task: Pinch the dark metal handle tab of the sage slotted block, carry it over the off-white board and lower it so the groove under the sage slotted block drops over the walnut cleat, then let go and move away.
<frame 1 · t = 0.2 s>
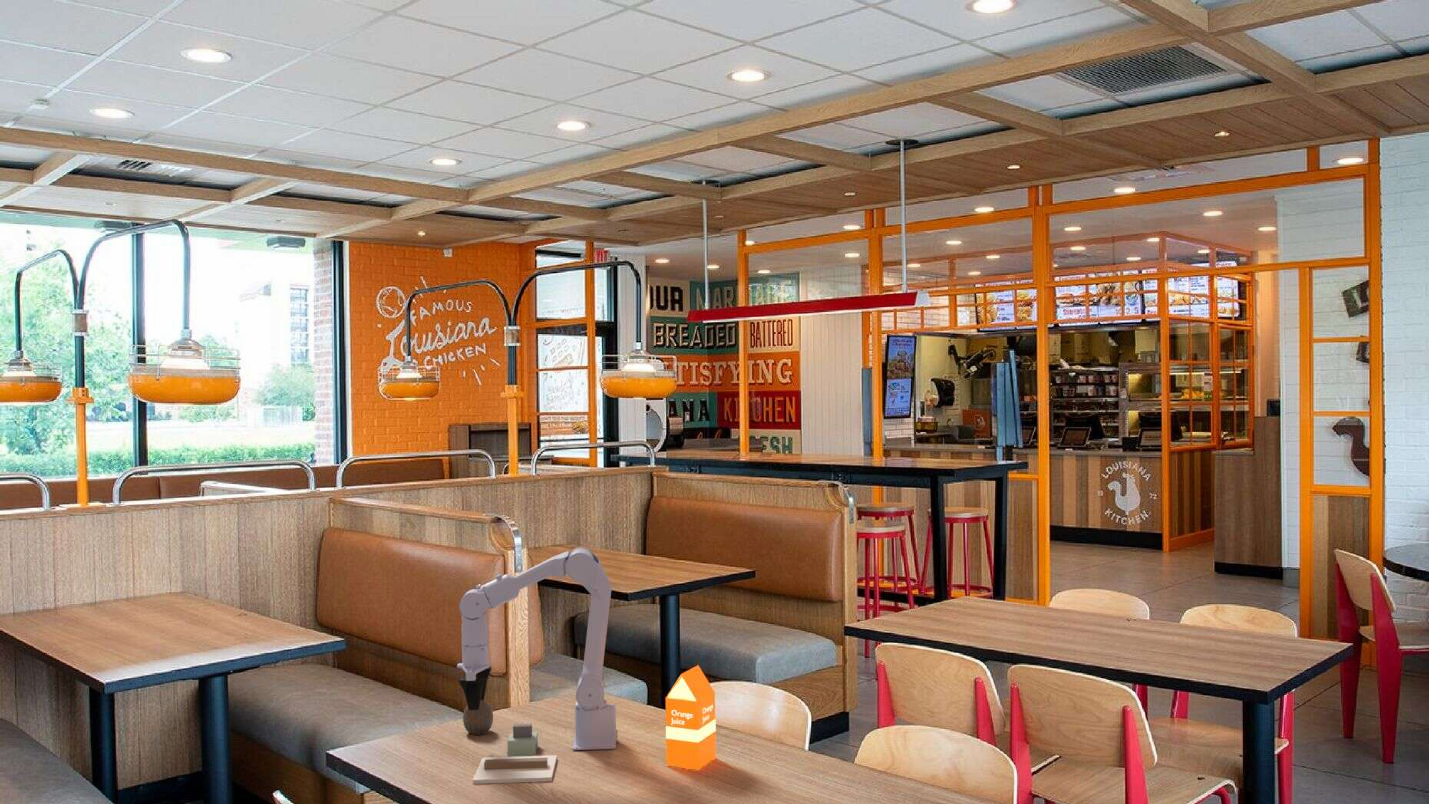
hand: (476, 704, 257), 10 cm above the table, tool pointing down, fingers open, 7 cm apart
vase: (478, 733, 270), on the table
orange juice: (691, 763, 246), on the table
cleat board: (516, 770, 242), on the table
sage slotted block: (522, 751, 255), on the table
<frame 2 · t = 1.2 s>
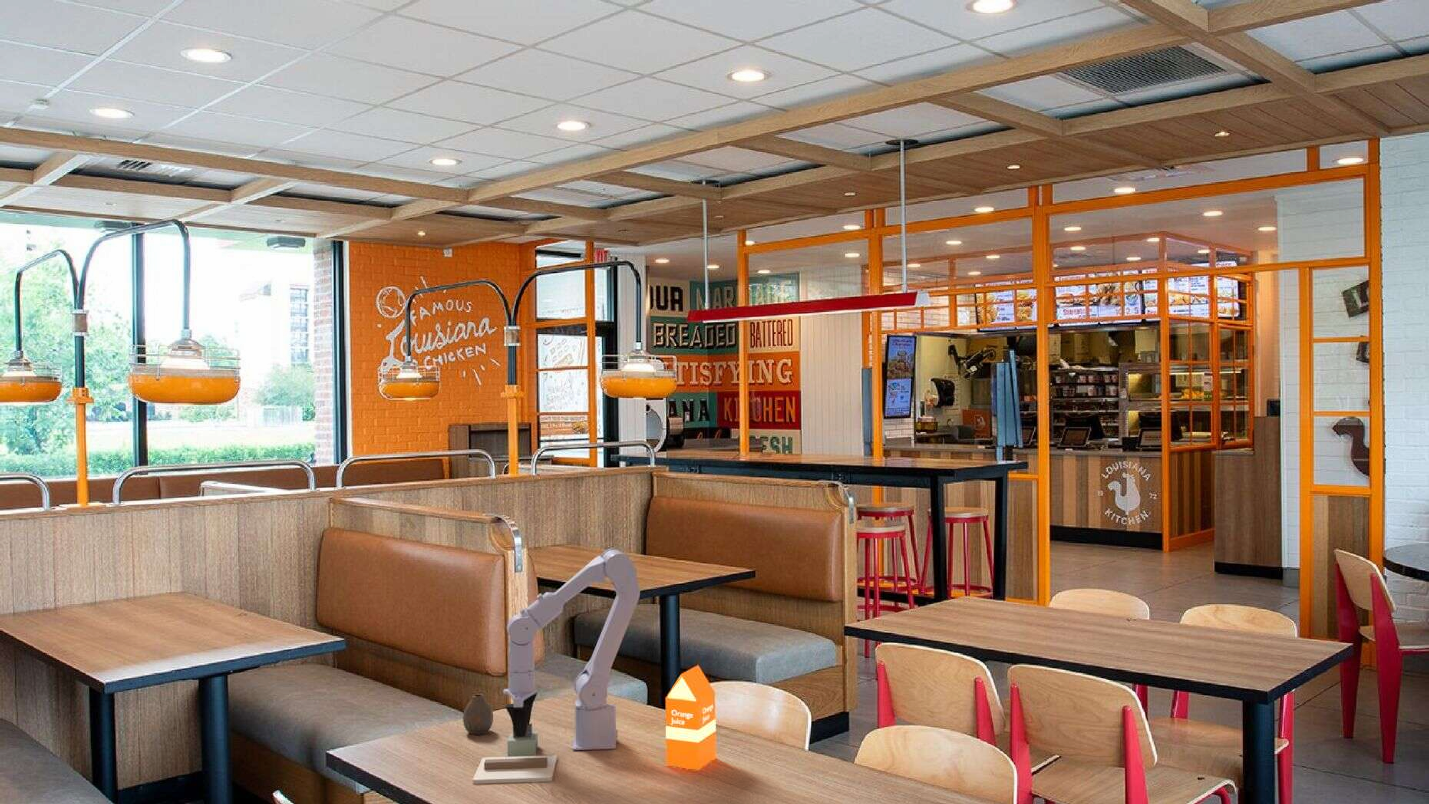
hand: (522, 730, 255), 5 cm above the table, tool pointing down, fingers open, 7 cm apart
nothing on the table moved.
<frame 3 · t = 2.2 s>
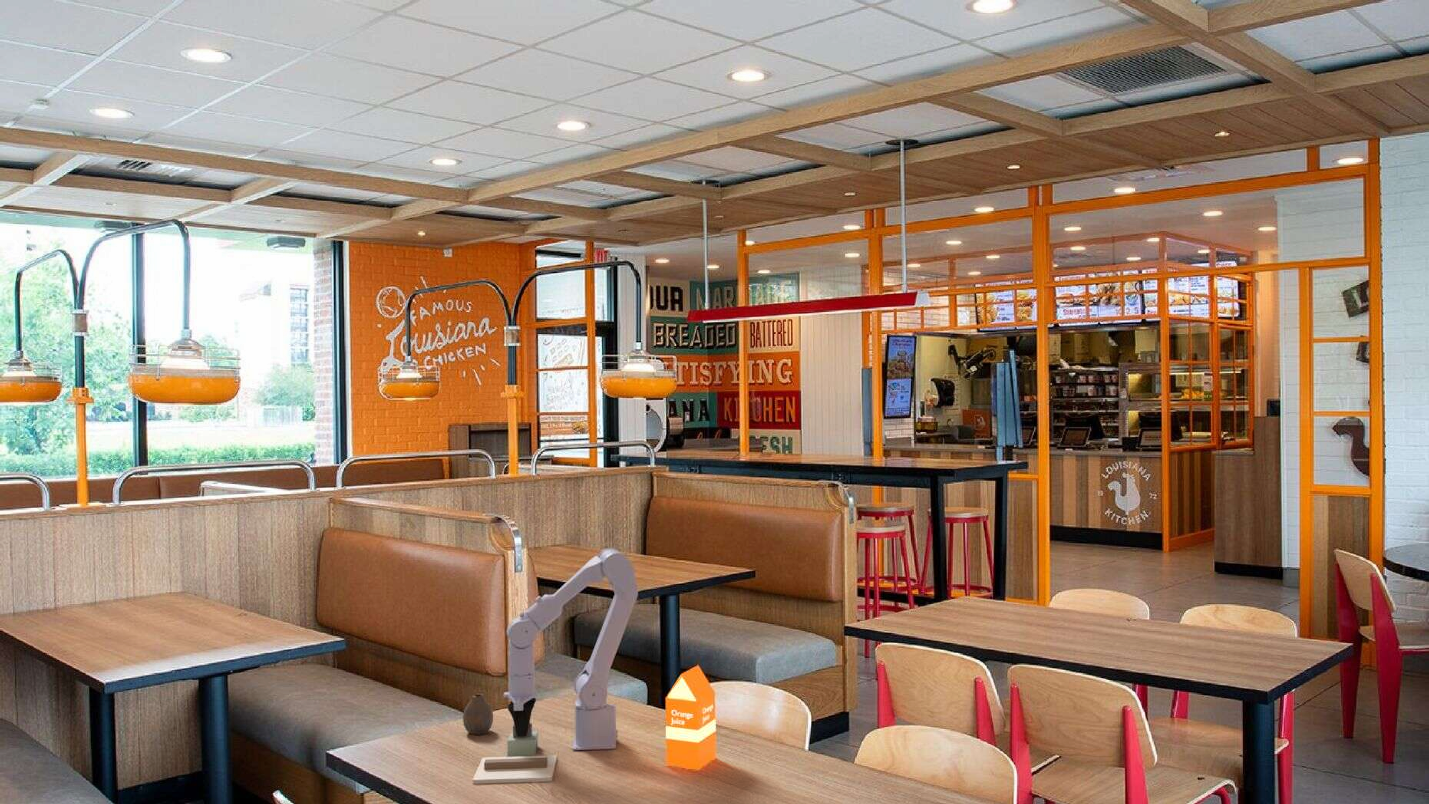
hand: (522, 734, 255), 4 cm above the table, tool pointing down, fingers closed on sage slotted block, 2 cm apart
sage slotted block: (522, 751, 255), on the table, touching gripper
everything else where it was.
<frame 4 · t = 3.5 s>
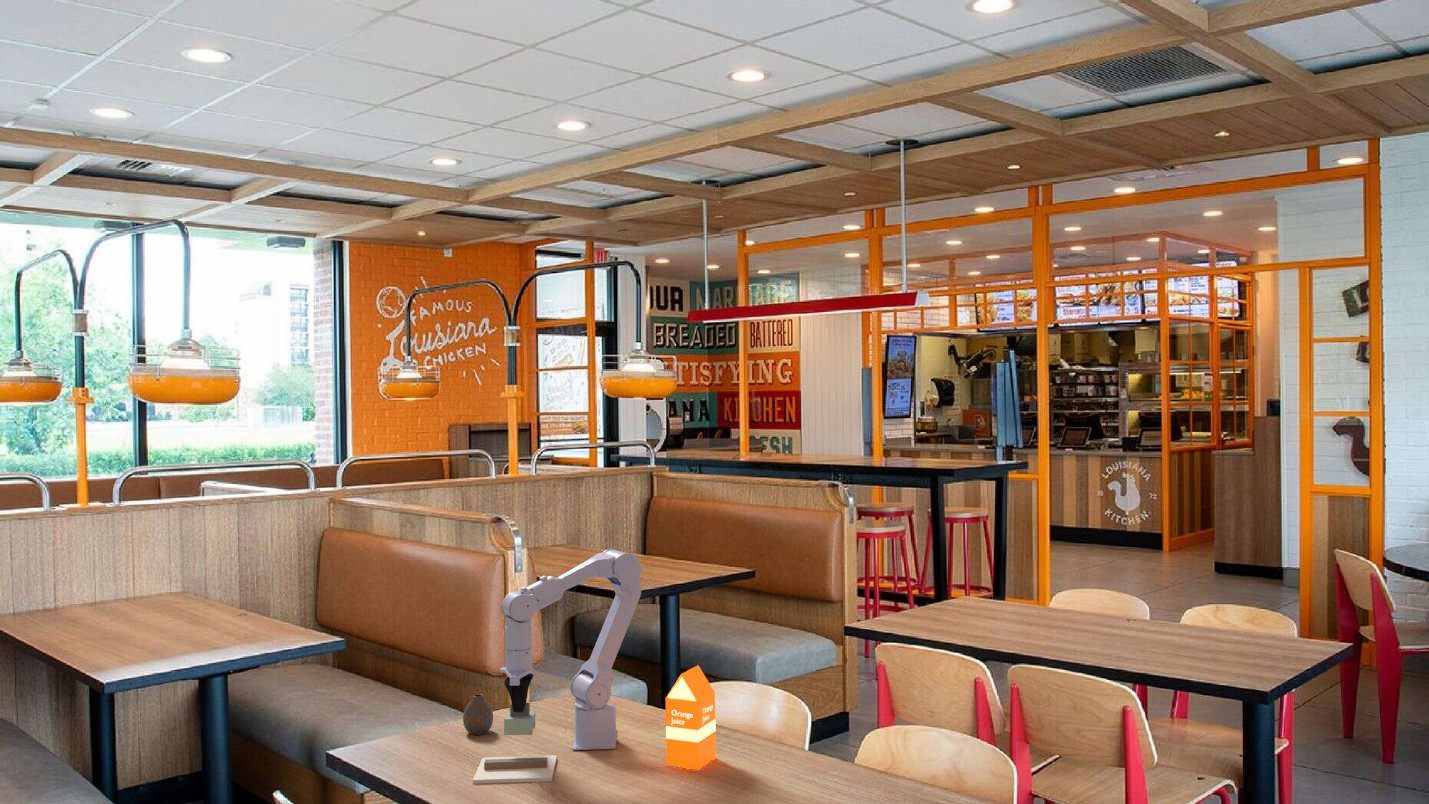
hand: (519, 710, 251), 10 cm above the table, tool pointing down, fingers closed on sage slotted block
sage slotted block: (519, 730, 251), point 6 cm above the table, touching gripper
everything else where it was.
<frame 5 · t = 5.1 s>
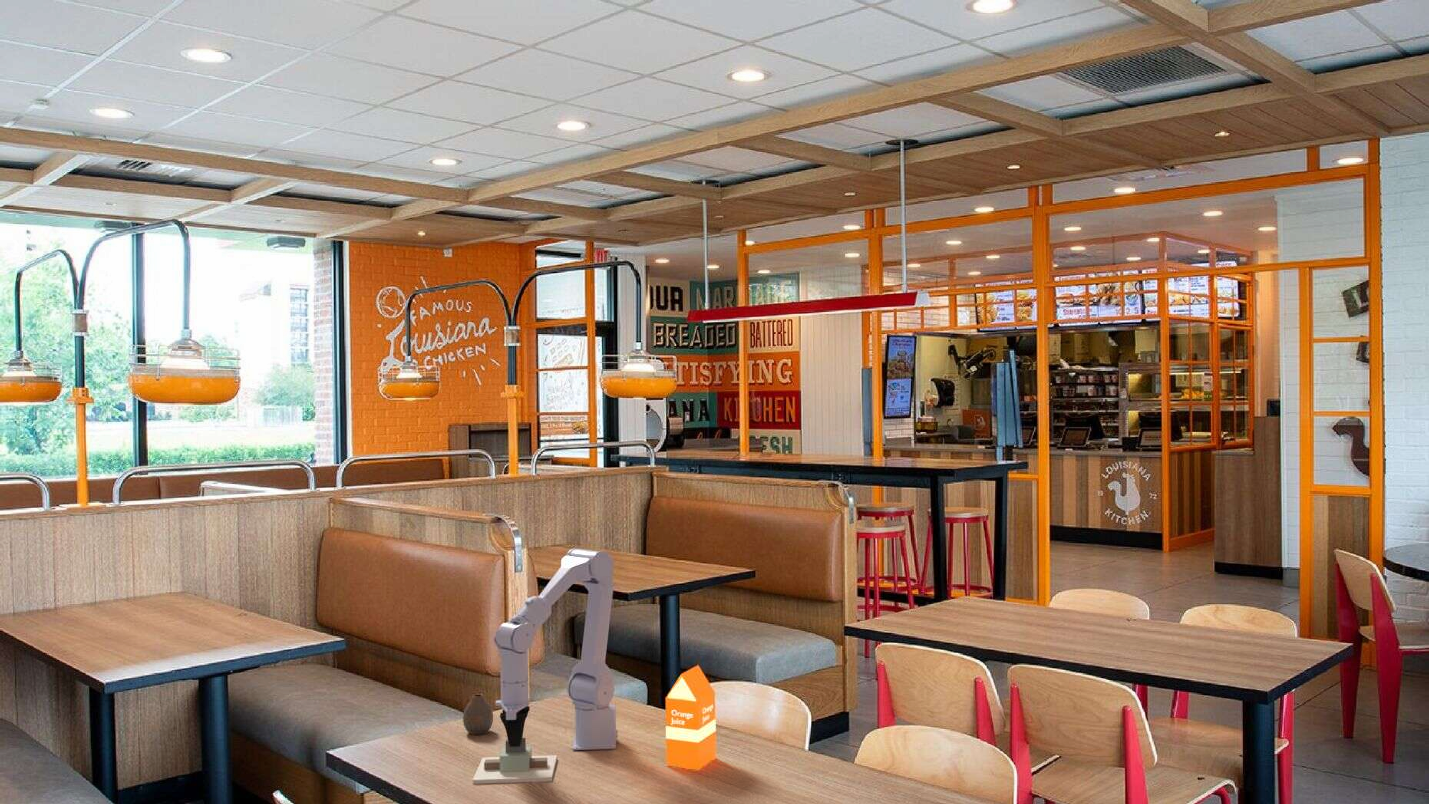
hand: (515, 744, 242), 6 cm above the table, tool pointing down, fingers closed on sage slotted block, 2 cm apart
sage slotted block: (516, 767, 242), point 1 cm above the table, touching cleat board, gripper
everything else where it was.
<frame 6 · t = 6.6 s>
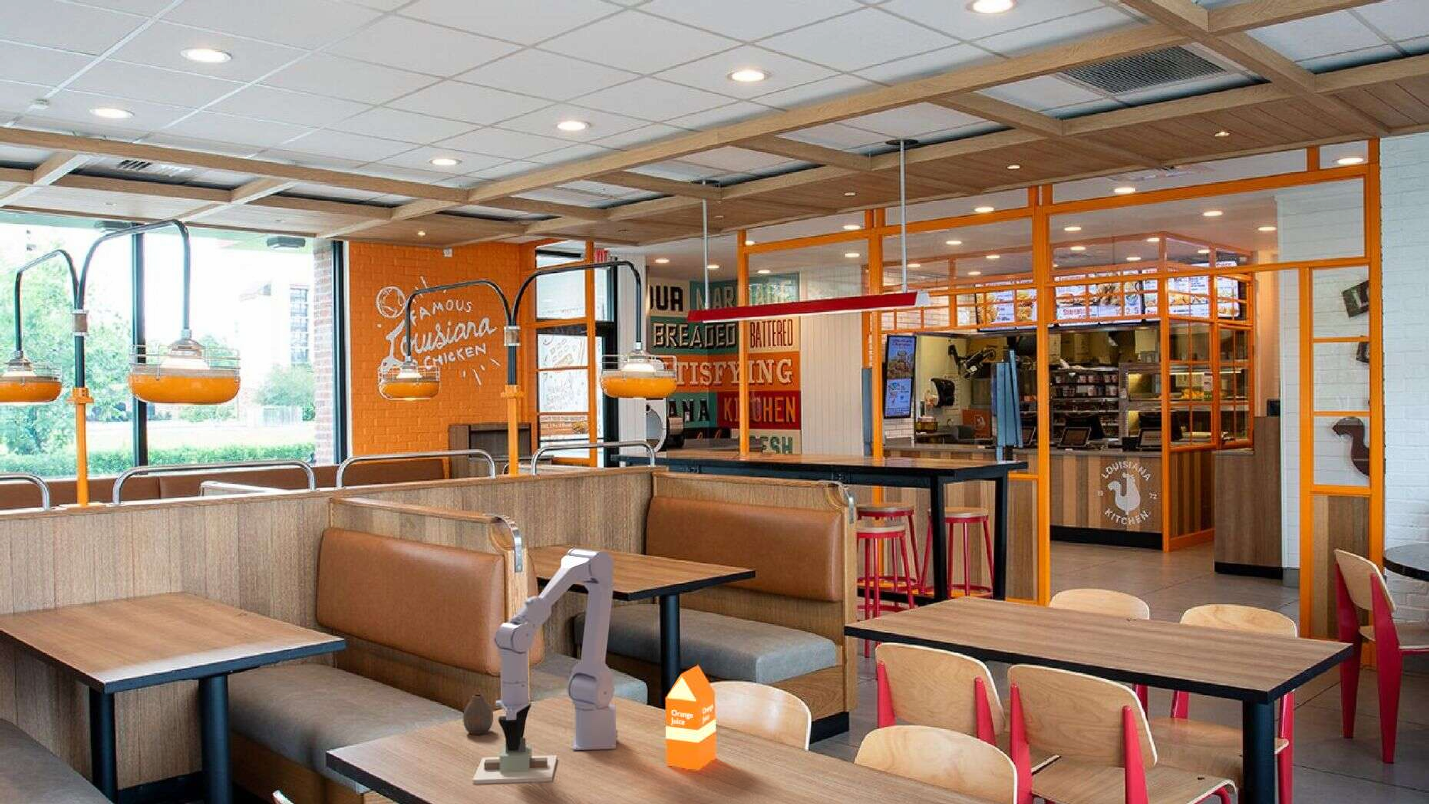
hand: (515, 744, 242), 6 cm above the table, tool pointing down, fingers open, 7 cm apart
sage slotted block: (516, 767, 242), point 1 cm above the table, touching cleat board
everything else where it was.
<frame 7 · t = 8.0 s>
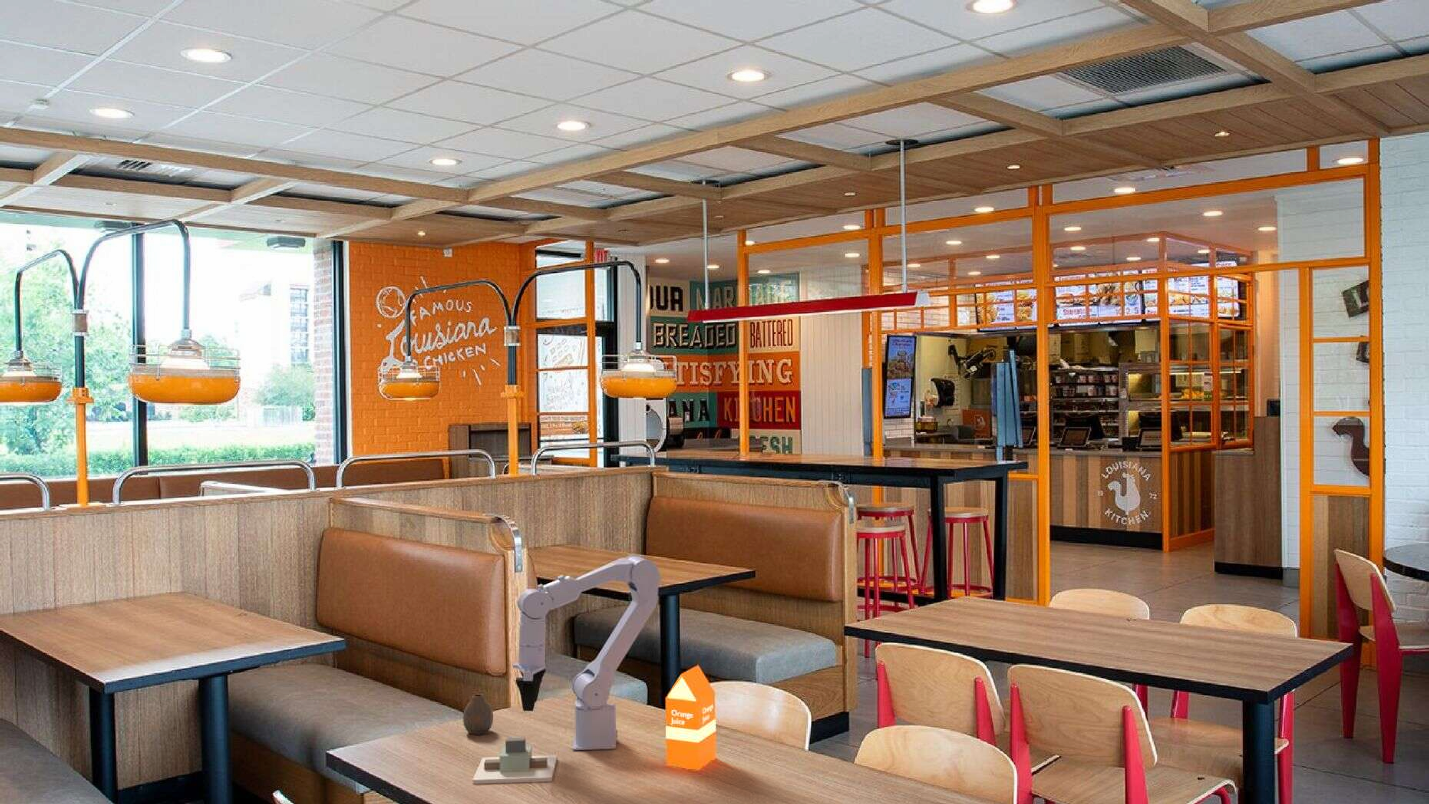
hand: (530, 705, 254), 10 cm above the table, tool pointing down, fingers open, 7 cm apart
nothing on the table moved.
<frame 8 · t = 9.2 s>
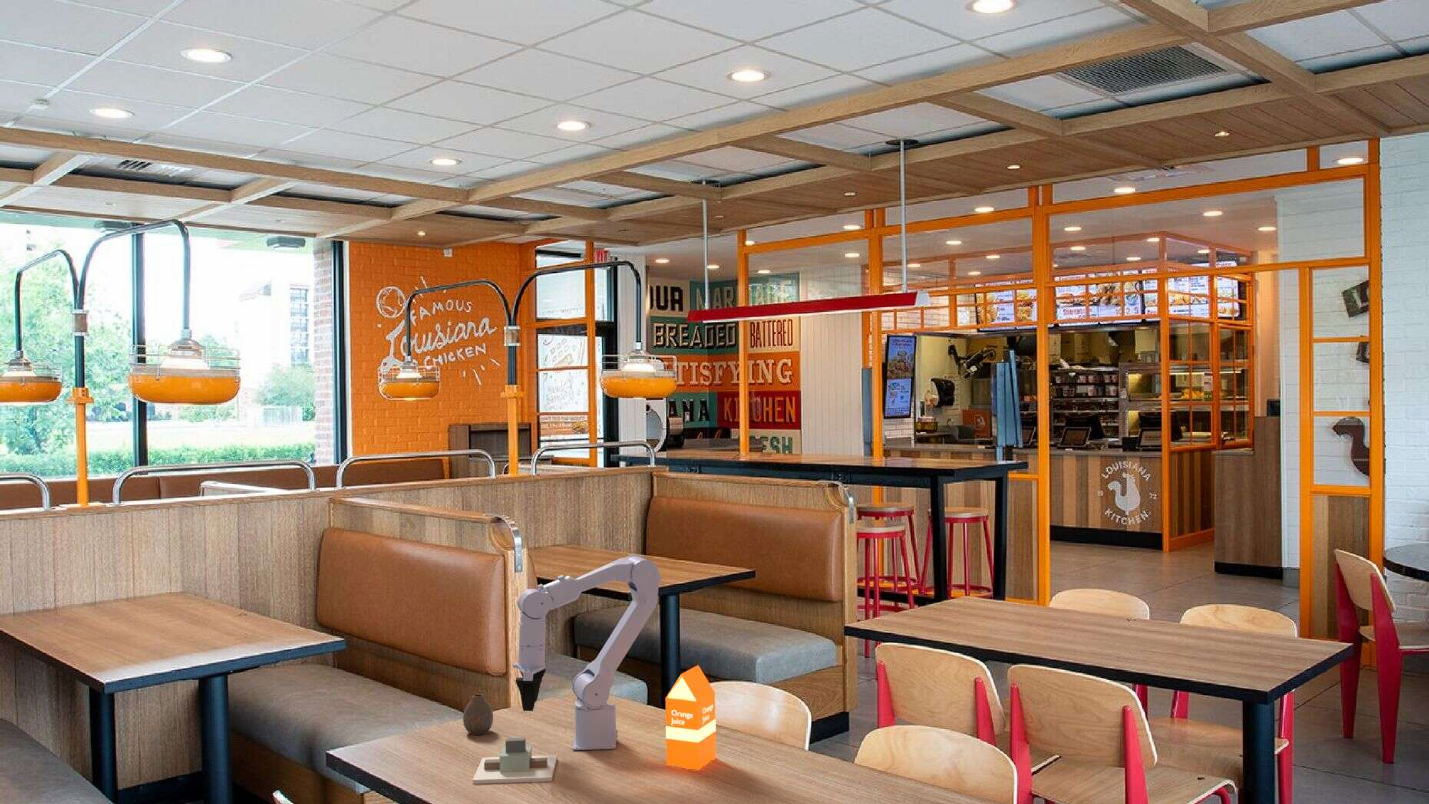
hand: (530, 705, 254), 10 cm above the table, tool pointing down, fingers open, 7 cm apart
nothing on the table moved.
at the end: sage slotted block inside the target area on the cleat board (0.0 cm from its centre), point 0.8 cm above the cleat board's base; sage slotted block tilted 0°; the gripper is holding nothing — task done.
